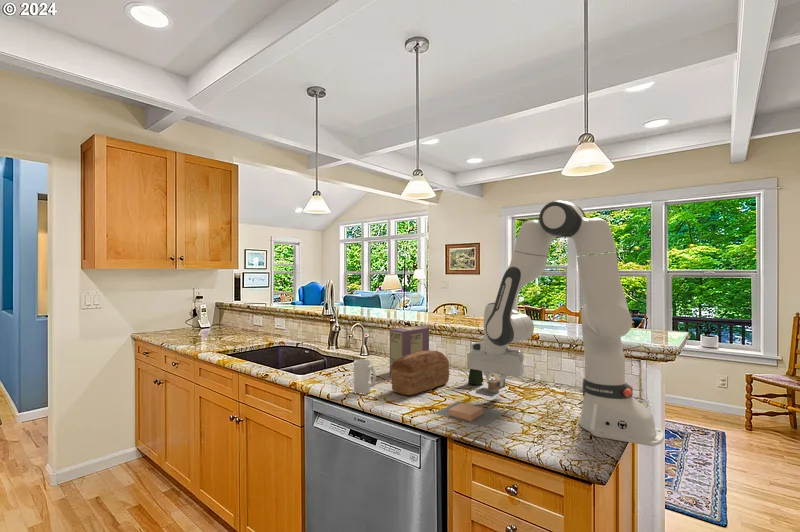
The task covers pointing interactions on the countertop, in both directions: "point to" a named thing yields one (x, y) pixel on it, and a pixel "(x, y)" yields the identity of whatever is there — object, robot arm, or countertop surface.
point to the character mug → (474, 374)
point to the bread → (419, 372)
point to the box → (407, 341)
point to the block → (465, 411)
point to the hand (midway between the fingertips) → (495, 385)
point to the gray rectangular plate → (481, 420)
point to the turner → (491, 388)
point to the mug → (363, 376)
